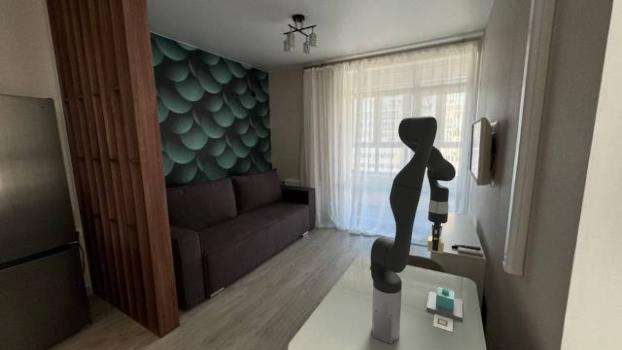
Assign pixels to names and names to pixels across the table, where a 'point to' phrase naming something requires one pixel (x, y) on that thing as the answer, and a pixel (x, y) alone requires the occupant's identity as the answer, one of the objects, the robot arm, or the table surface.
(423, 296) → the table surface
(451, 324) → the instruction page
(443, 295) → the teal brick
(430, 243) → the yellow knobbed block
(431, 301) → the plate
